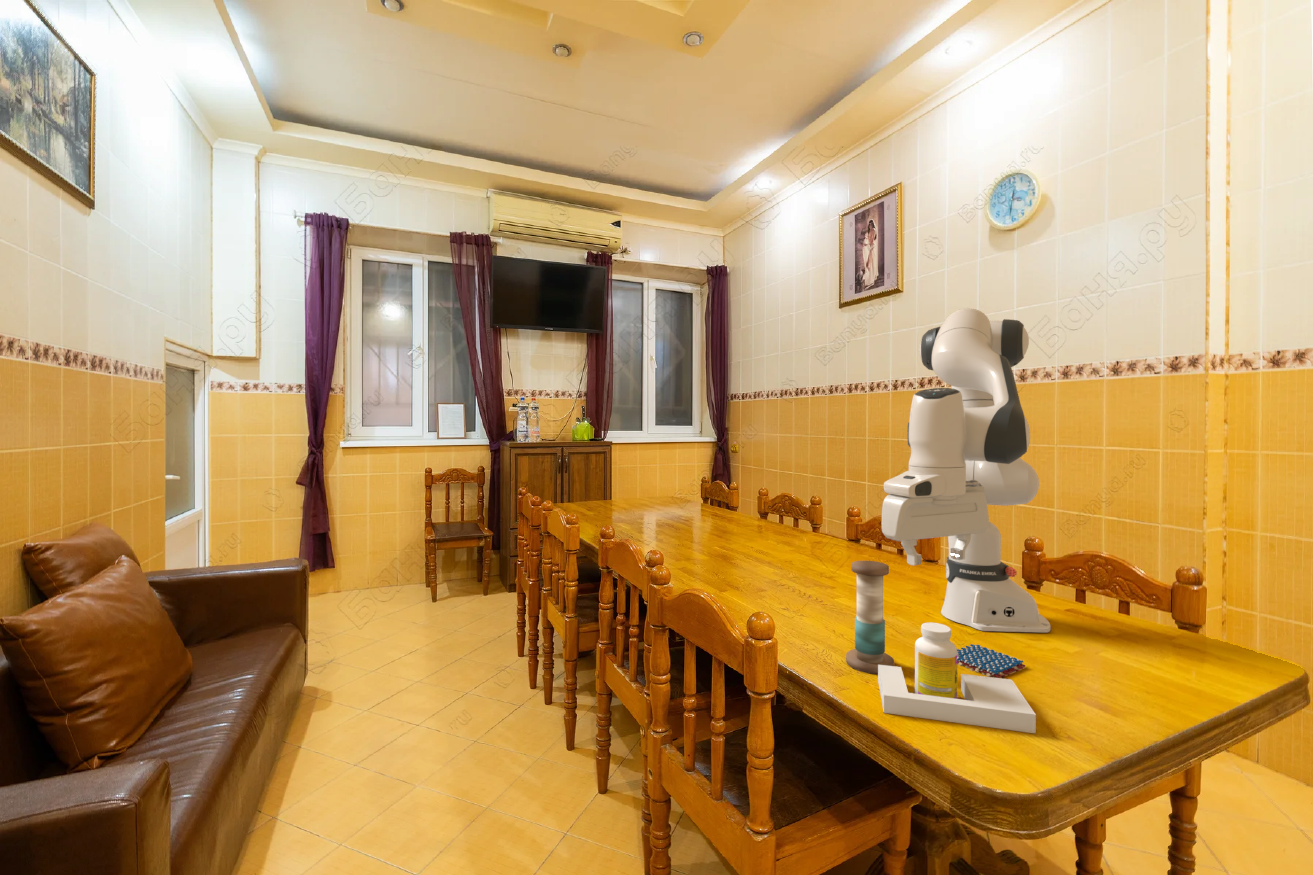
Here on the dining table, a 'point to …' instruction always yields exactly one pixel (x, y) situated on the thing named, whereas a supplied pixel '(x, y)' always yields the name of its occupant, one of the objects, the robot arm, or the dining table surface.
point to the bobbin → (869, 619)
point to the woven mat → (988, 661)
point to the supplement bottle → (935, 662)
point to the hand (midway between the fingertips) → (936, 561)
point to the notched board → (960, 702)
